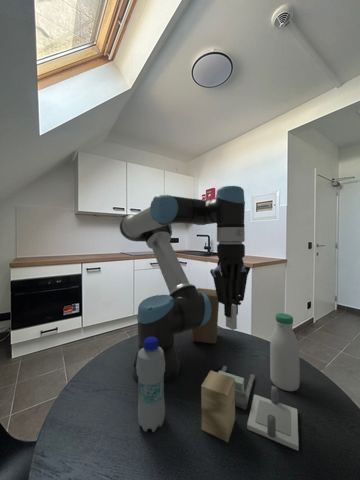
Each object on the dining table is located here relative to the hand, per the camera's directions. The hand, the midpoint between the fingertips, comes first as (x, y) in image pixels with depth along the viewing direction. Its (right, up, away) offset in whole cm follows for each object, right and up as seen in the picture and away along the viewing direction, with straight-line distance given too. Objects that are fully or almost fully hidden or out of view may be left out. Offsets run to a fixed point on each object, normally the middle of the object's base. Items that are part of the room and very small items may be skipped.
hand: (231, 327), depth 56 cm
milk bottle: (+17, -18, +4) cm, 25 cm away
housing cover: (-1, -18, -1) cm, 18 cm away
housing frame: (+1, -18, +2) cm, 18 cm away
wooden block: (-4, -18, +30) cm, 35 cm away
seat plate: (+8, -18, -9) cm, 22 cm away
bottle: (-21, -19, -9) cm, 30 cm away
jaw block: (-5, -18, -10) cm, 21 cm away
